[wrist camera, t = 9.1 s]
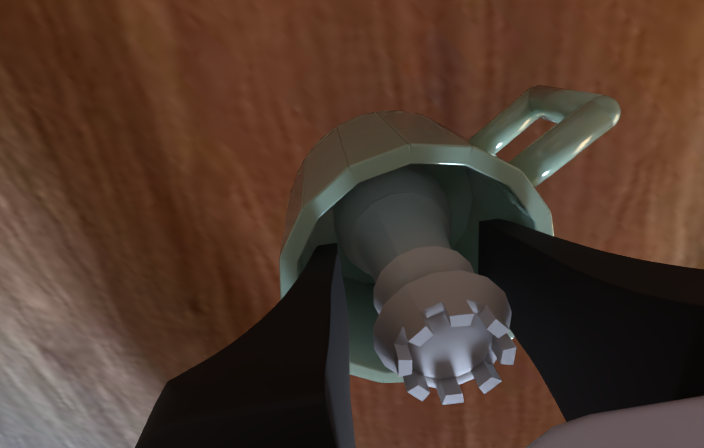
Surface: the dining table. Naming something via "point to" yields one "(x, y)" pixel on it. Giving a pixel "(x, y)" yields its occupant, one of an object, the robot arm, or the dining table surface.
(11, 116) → the dining table surface
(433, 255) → the rook chess piece
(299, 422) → the robot arm
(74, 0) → the dining table surface
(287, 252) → the pale green mug
